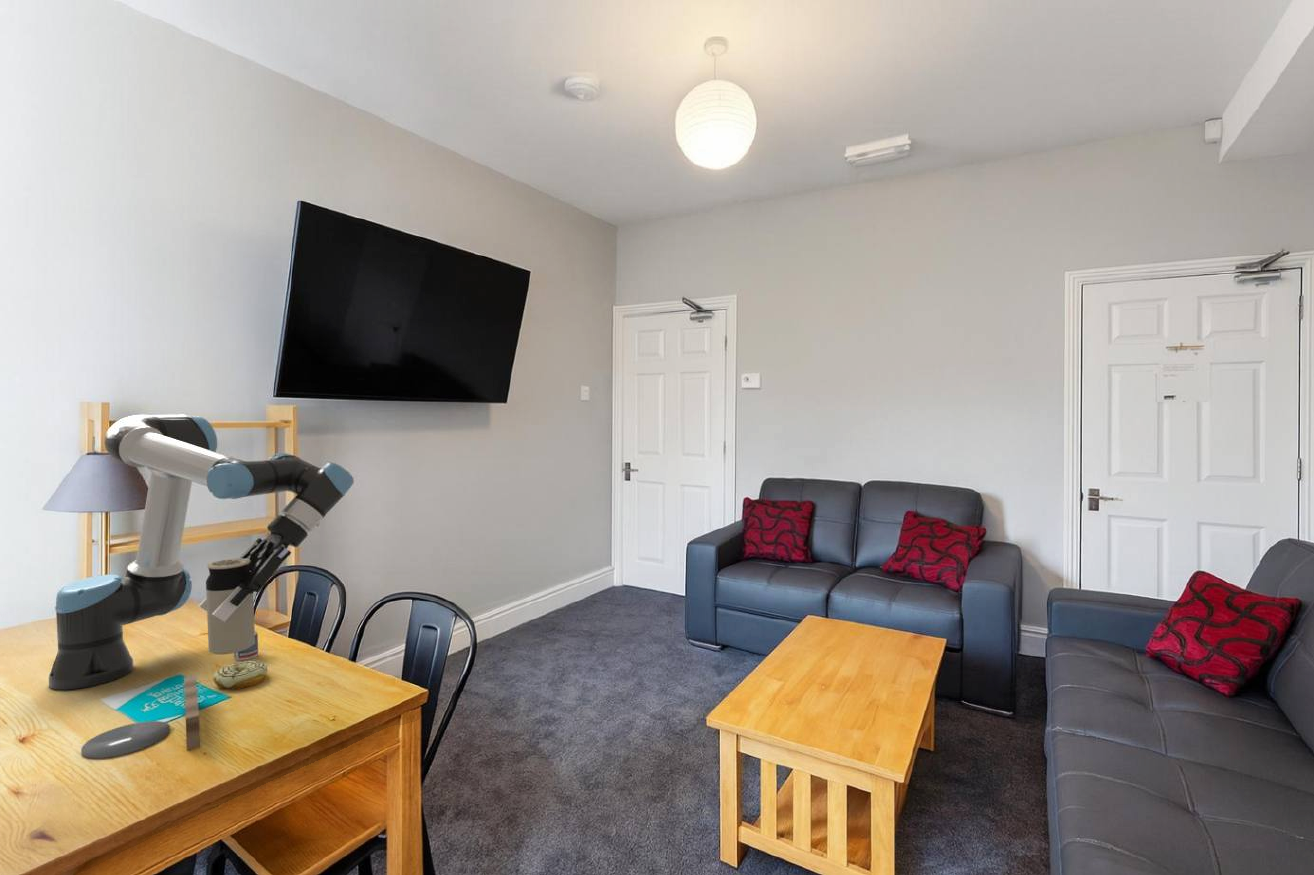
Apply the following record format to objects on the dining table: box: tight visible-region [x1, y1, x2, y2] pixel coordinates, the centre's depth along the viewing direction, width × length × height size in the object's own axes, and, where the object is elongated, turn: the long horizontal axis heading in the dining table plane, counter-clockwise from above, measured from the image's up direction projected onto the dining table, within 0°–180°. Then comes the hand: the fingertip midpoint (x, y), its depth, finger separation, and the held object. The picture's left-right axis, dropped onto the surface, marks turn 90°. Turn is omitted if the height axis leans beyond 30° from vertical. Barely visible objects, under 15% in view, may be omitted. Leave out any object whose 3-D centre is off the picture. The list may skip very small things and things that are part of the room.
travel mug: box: [205, 557, 256, 656], centre depth 130 cm, size 8×8×18 cm
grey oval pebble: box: [80, 720, 171, 760], centre depth 120 cm, size 13×13×1 cm
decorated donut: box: [212, 660, 268, 690], centre depth 147 cm, size 10×11×4 cm
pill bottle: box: [233, 629, 259, 661], centre depth 163 cm, size 5×5×9 cm
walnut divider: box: [183, 674, 201, 751], centre depth 126 cm, size 24×2×6 cm, turn 38°
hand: (211, 613), depth 127 cm, fingers closed on travel mug, 8 cm apart
